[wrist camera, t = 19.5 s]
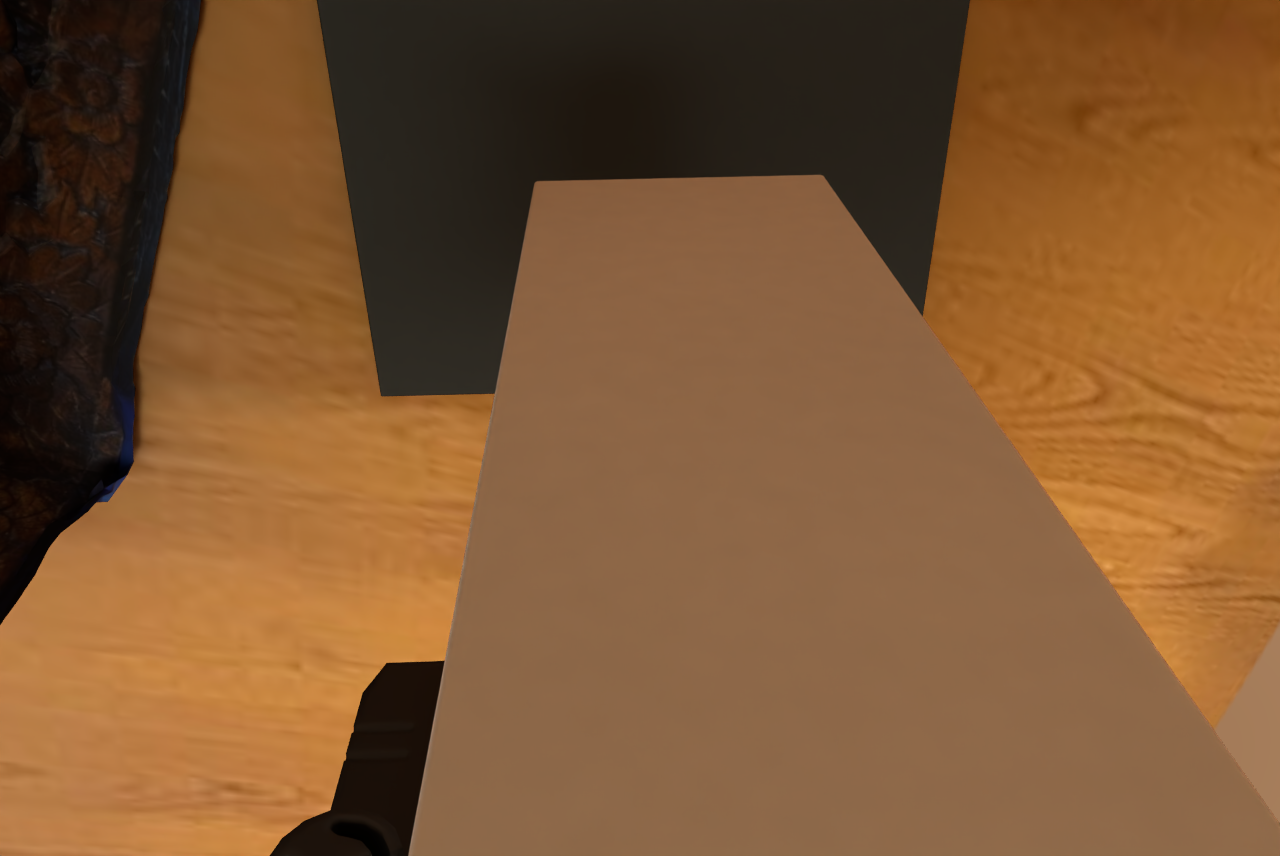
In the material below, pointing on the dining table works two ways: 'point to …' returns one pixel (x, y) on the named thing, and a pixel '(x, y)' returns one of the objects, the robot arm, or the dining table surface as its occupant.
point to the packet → (782, 574)
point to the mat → (613, 136)
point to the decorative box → (77, 248)
